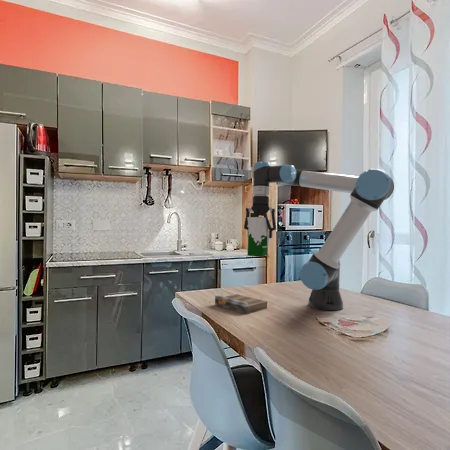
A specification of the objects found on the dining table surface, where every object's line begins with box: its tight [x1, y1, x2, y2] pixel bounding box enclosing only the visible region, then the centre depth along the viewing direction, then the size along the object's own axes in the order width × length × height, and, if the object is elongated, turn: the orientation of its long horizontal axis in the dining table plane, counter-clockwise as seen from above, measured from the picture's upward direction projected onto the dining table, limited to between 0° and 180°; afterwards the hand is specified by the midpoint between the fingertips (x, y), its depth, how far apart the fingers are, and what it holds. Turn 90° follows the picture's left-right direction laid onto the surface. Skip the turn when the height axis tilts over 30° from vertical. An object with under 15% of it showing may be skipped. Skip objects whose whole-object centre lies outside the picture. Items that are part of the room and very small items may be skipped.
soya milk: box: [247, 212, 270, 258], centre depth 154 cm, size 9×9×20 cm
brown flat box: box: [214, 294, 268, 315], centre depth 147 cm, size 19×15×4 cm
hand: (259, 244), depth 153 cm, fingers open, 7 cm apart
